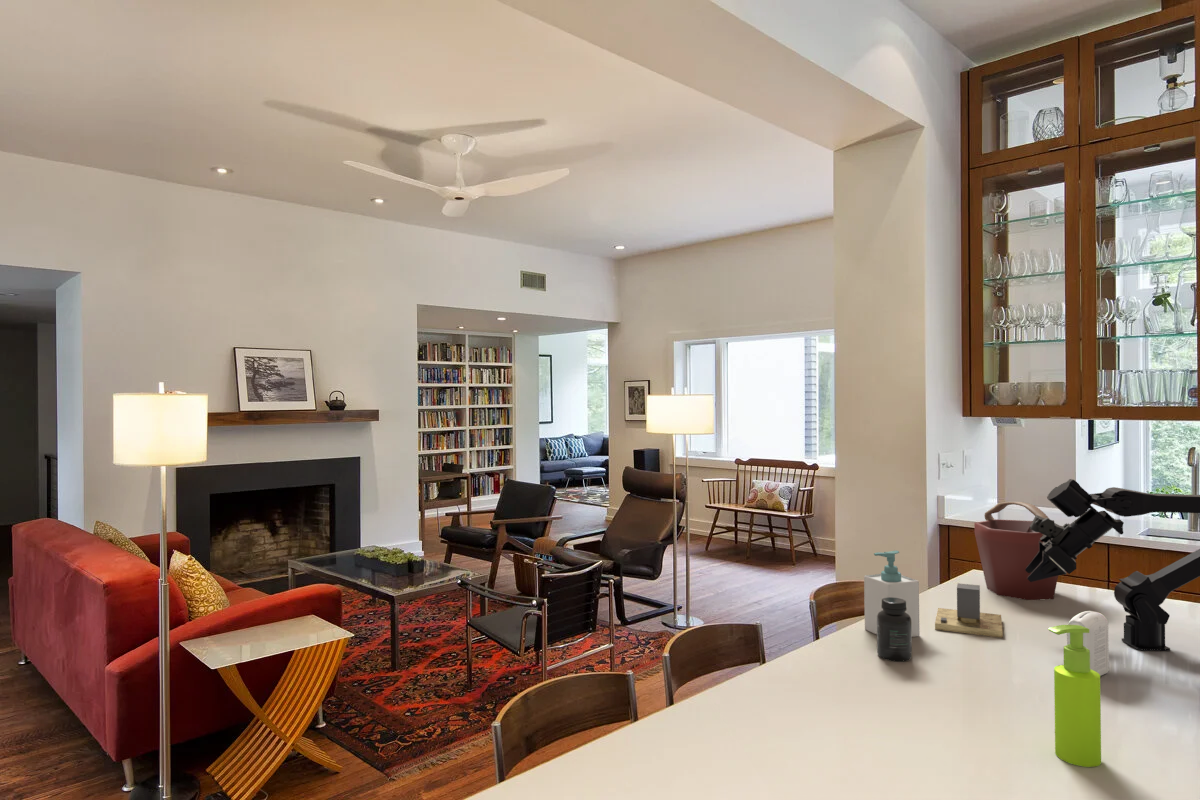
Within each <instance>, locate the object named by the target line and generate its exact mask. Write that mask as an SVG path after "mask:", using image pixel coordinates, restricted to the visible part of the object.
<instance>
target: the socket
mask: <svg viewBox="0 0 1200 800" xmlns="http://www.w3.org/2000/svg"><path fill="white" fill-rule="evenodd" d="M935 616H936V617H935V622H934V630H936V631H945V632H954V633H959V634H961V633H962V634H970V635H976V636H985V637H992V638H1000V639H1001V638H1004V637H1003V622H1002V621H1003V620H1002V614H997V613H996V614H995V613H986V612H980V620H978V619H976V622H967V621H961V617H957V609H953V608H952V609H951V608H942V607H938V608H937V613H936V615H935Z"/></svg>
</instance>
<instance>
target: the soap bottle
mask: <svg viewBox="0 0 1200 800" xmlns="http://www.w3.org/2000/svg"><path fill="white" fill-rule="evenodd" d="M897 554H900V551H899V550H891V551H883V552H880V551H879V552H875V553H873V555H874V556H876V557H878V556H879V557H883V558H886V561H887V563H888V564H885V565H884V568H883V569H884V570H881V572H880V573H876V574H867V575H864V576H863V587H864V588H863V591H864V592H863V593H864V595H863V596H864V598H863V599H864V601H863V603H864V605H863V606H864V630H866V631H868V632H870V633H872V634H875V635H877V614H878V613H879V612H880V611H882V610H883V609H882V608H881V605H882V599H883V598H887V597H893V598H900V599H903V600H905V601H906V607H907V610H906V611H905V612H906V613H907V614H909V616H910V617H911V627H912V638H915V637H920V632H921V631H920V628H921V627H920V581H919V580H918V579H915V578H912V577H908V576H905V575H903V574H902V573H901V572H900V571H899V569H898V566H896V565H894V563H895V561H896V555H897Z"/></svg>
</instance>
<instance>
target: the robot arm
mask: <svg viewBox="0 0 1200 800" xmlns="http://www.w3.org/2000/svg"><path fill="white" fill-rule="evenodd" d="M1046 498H1047V500H1048V501H1049V502H1050V503H1051V504H1053V505H1054V506H1055V508H1057V509H1059V510H1060V511H1061V512H1062V514H1064V515H1065V516H1066V517H1068V518H1071V517H1075V518H1076V519H1075V520H1073V521H1072V522H1071V523H1069V522H1068V523H1067V522H1066V523H1064V525H1060V524H1058V523H1056V522H1055V520H1052V519H1050V518H1049V517H1048V518H1049V519H1048V518H1043V517H1040V516H1038V515H1036V516H1035V515H1034V516H1035V517H1033V519H1032V520H1031V521H1032V523H1031V525H1030V527H1031V528H1030V529H1031V530H1033V531H1035V532H1039V533H1041V534H1044V535H1043V536H1042V537H1041V538H1040V540H1041V541H1042V542H1043V543H1042V542H1041V541H1039V551H1038V553H1037V554H1036V556H1035V557H1034V558H1033V559H1032V561H1031V562H1030V563H1029V565H1028V566H1027V567H1026V569H1025V571H1026V572H1028V573H1031V572H1032V573H1031V574H1030V575H1029V576H1028V577H1027V579H1028V580H1029V581H1030V582H1034V581H1038V580H1042V579H1046V578H1050V577H1054V576H1058V577H1059V576H1063V575H1067V574H1069V575H1070V574H1071V573H1073V572H1074V571H1075V570H1077V562H1076V560H1077V559H1078V557H1077V556H1078V555H1080V554H1081V553H1082V552H1083V551H1085V550H1086V549H1088V550H1091V548H1092V547H1093V544H1094V543H1095V542H1097V541H1098V540H1099V539H1100V538H1102V537H1103V536H1104V535H1105V534H1107V533H1108V532H1110V531H1111V530H1112V529H1113V530H1115V531H1116V532H1117V533H1118V534H1119V535H1123V534H1124V520H1122V519H1116V518H1115V517H1113V516H1112V515H1110V514H1109V513H1112V514H1114V515H1116V516H1119V517H1123V518H1125V517H1135V516H1142V515H1147V514H1151V513H1179V514H1180V513H1181V514H1183V513H1185V514H1200V494H1184V493H1183V494H1181V493H1178V494H1175V493H1149V492H1144V491H1143V492H1142V491H1138V490H1132V489H1128V488H1120V487H1114V486H1113V487H1108V488H1106V489H1105V490H1104V491H1102V492H1097V493H1089V492H1087V491H1086V490H1085V489H1084V488H1083V487H1082V486H1081V485H1080V484H1079V482H1077V481H1076V480H1075V479H1072V478H1069V479H1068V480H1067V481H1065V482H1063V483H1061V484H1060V485H1058V486H1054V488H1053V489H1051V491H1050V492H1049V493H1048V494H1047V496H1046ZM1092 505H1094V506H1097V507H1100V508H1102V509H1104V510H1100V511H1098V510H1097V509H1096V508H1095V507H1093V506H1092ZM1108 512H1109V513H1108ZM1198 578H1200V548H1199V549H1196V550H1195V551H1193V552H1191V553H1189V554H1188V555H1186V556H1184V557H1182V558H1179V559H1178V560H1176V561H1175V562H1172V563H1171V564H1169V565H1167V566H1165V567H1163V568H1161V569H1159V570H1158V571H1155V572H1153V573H1151V574H1147V575H1146V574H1144V573H1141V572H1140V571H1138V570H1136V571H1133V572H1132V573H1130V575H1128V576H1127V577H1124V578H1120V579H1118V580H1119V583H1118V584H1115V586H1114V591H1113V594H1114V595H1113V596H1114V598H1115V601H1116V602H1118V604H1120V605H1121V606H1122V608H1123V610H1124V612H1126V613H1128V614H1127V615H1125V622H1124V623H1123V637H1122V638H1121V641H1122V642H1123V643H1125V644H1127V645H1129V646H1131V647H1133V648H1135V649H1137V650H1138V651H1162V652H1163V651H1168V652H1169V651H1171V647H1169V646H1166V625H1167V623H1168V621H1169V618H1170V613H1168V612H1167V611H1165V609H1163V608H1162V607H1161V605H1162V604H1163V603H1164V602H1165V601H1166V599H1167V598H1168V596H1169V595H1170V593H1172V592H1174V591H1175V590H1177V589H1180V588H1181V587H1183V586H1184V585H1187V584H1188V583H1190V582H1192V581H1194V580H1196V579H1198Z"/></svg>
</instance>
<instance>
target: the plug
mask: <svg viewBox="0 0 1200 800" xmlns="http://www.w3.org/2000/svg"><path fill="white" fill-rule="evenodd" d="M980 587H981V585H980V584H979V585H978V584H968V583H961V582H958V583H957V585H956V610H957V617H961V621H967V622H976V619H978V620H980V613H981V594H980V593H981V591H980V589H981V588H980Z"/></svg>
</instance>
